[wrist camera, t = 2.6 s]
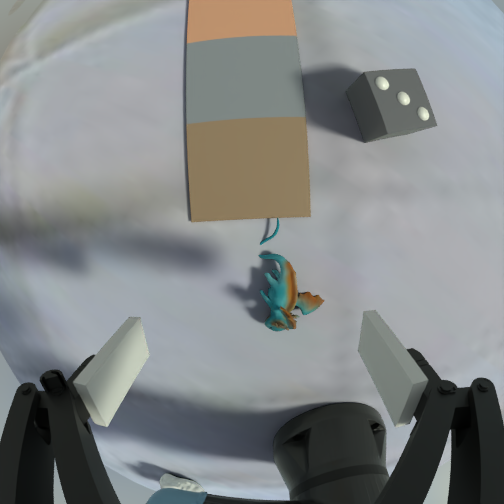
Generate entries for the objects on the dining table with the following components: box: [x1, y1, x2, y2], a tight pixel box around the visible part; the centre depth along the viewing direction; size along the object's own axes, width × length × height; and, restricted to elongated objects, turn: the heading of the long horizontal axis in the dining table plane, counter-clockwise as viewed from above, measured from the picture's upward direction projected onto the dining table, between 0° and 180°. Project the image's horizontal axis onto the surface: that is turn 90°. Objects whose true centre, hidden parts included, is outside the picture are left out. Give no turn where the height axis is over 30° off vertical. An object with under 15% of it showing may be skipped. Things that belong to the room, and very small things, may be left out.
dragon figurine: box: [259, 218, 324, 331], centre depth 23 cm, size 6×7×8 cm
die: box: [346, 69, 437, 143], centre depth 18 cm, size 5×5×5 cm
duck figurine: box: [160, 473, 205, 492], centre depth 29 cm, size 12×8×11 cm
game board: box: [186, 0, 311, 222], centre depth 20 cm, size 26×10×1 cm, turn 3°
